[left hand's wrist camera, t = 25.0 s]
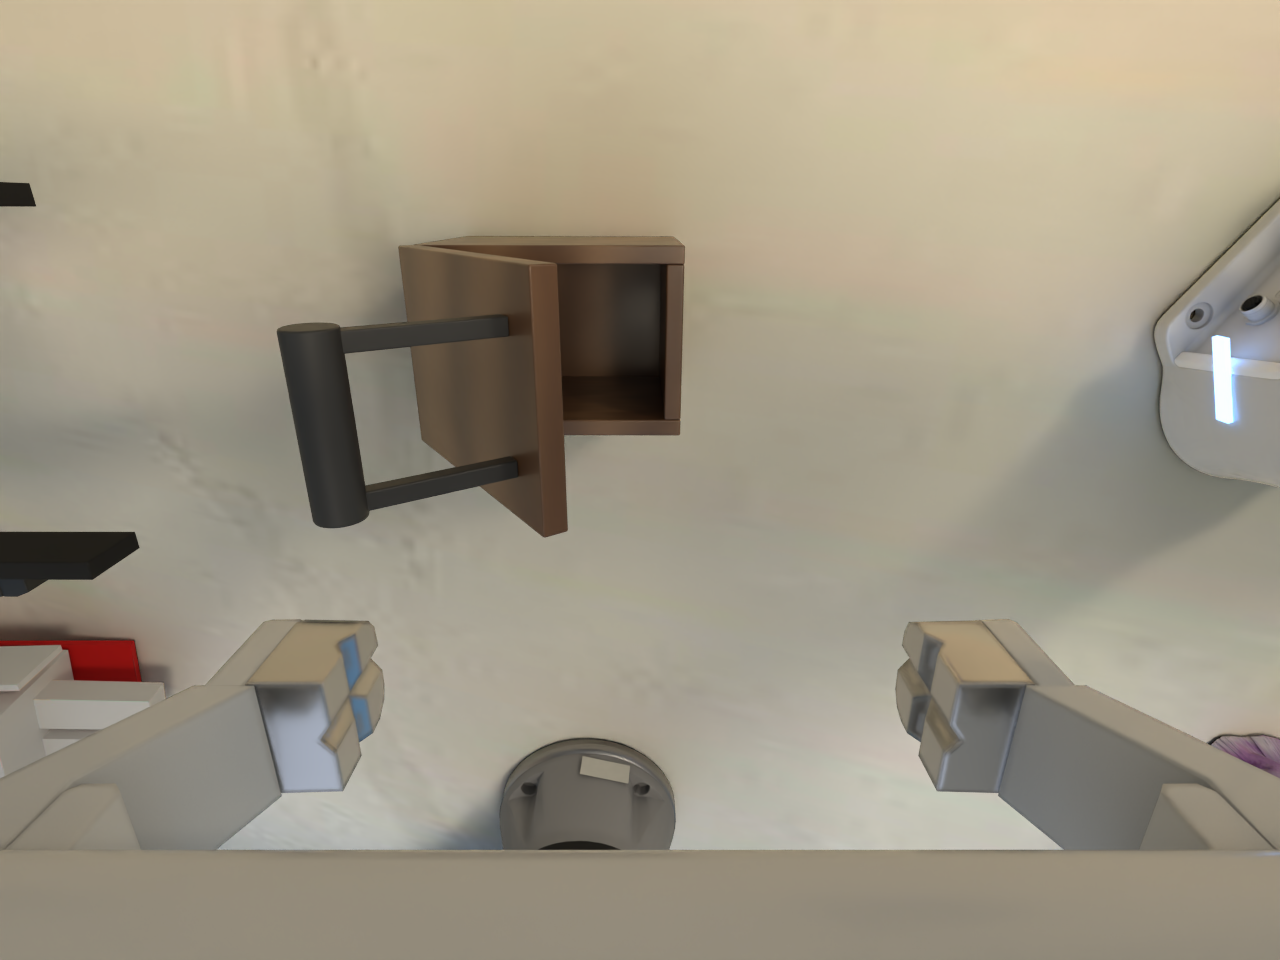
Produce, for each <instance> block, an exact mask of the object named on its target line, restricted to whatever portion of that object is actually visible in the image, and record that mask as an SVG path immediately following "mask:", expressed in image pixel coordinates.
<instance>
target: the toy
mask: <svg viewBox="0 0 1280 960" xmlns="http://www.w3.org/2000/svg"><path fill="white" fill-rule="evenodd" d="M165 699H166V697H165V690H164V683H162V682H142V681H141V676H140V670H139V665H138V659H137V654H136V648H135V643H134V640H132V641H0V778H2V777H4V776H6V775H8V774H10V773H12V772H14V771H16V770H18V769H20V768H23V767H25V766H27V765H29V764H31V763H33V762H35V761H37V760H39V759H41V758H43V757H46V756H48V755H50V754H52V753H54V752H56V751H58V750H60V749H62V748H64V747H66V746H69V745H71V744H73V743H75V742H77V741H79V740H81V739H83V738H85V737H87V736H89V735H92V734H94V733H96V732H98V731H100V730H102V729H104V728H106V727H108V726H110V725H112V724H115V723H117V722H119V721H121V720H123V719H125V718H127V717H129V716H131V715H133V714H135V713H138V712H140V711H142V710H144V709H146V708H148V707H150V706H152V705H154V704H156V703H158V702H161V701H163V700H165Z"/></svg>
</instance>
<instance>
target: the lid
mask: <svg viewBox="0 0 1280 960" xmlns="http://www.w3.org/2000/svg"><path fill="white" fill-rule="evenodd" d="M398 248H399V256H400V264H401V273H402V281H403V289H404V297H405V305H406V314H407V322H402V323H390V324H378V325H366V326H355V327H343V328H340V326H339V325H337V324H333V323H302V324H293V325H287V326H283V327H281V328H278V329H277V336H278V341H279V346H280V351H281V357H282V362H283V367H284V372H285V377H286V383H287V388H288V393H289V398H290V403H291V409H292V414H293V419H294V424H295V429H296V435H297V440H298V445H299V450H300V455H301V461H302V466H303V471H304V476H305V481H306V487H307V492H308V497H309V502H310V507H311V513H312V518H313V522H314V523H315V524H316V525H317V526H319V527H323V528H341V527H347V526H351V525H354V524H357V523H359V522H361V521H363V520H365V519H366V518H367V517H368V515H369V511H370V510H375V509H379V508H384V507H388V506H392V505H397V504H401V503H406V502H410V501H415V500H419V499H424V498H428V497H432V496H437V495H441V494H446V493H450V492H455V491H459V490H464V489H468V488H473V487H477V486H480V487H481V488H483V489H484V490H485V491H486V492H488V493H489V494H490V495H491V496H493V497H494V498H495V499H496V500H497V501H499V502H500V503H501V504H502V505H504V506H505V507H506V508H507V509H509V510H510V511H511V512H512V513H514V514H515V515H516V516H517V517H519V518H520V519H521V520H522V521H524V522H525V523H526V524H527V525H529V526H530V527H531V528H532V529H534V530H535V531H536V532H537V533H539V534H540V535H541V536H542V537H549V536H552V535H556V534H559V533H563V532H566V531H567V530H568V525H567V500H566V476H565V451H564V426H563V402H562V377H561V352H560V328H559V303H558V278H557V264H556V263H550V262H543V261H535V260H527V259H520V258H512V257H505V256H497V255H490V254H482V253H474V252H467V251H459V250H452V249H444V248H437V247H429V246H421V245H404V246H399V247H398ZM403 347H411V355H412V363H413V371H414V380H415V388H416V396H417V404H418V413H419V421H420V429H421V437H422V440H423V441H424V442H425V443H426V444H428V445H429V446H430V447H431V448H433V449H434V450H435V451H436V452H438V453H439V454H440V455H441V456H443V457H444V458H445V459H446V460H448V461H449V462H450V463H451V464H453V465H454V466H455V467H454V468H450V469H445V470H440V471H435V472H430V473H425V474H420V475H415V476H411V477H406V478H401V479H396V480H391V481H386V482H381V483H377V484H372V485H367V486H365V481H364V475H363V468H362V462H361V456H360V449H359V443H358V437H357V430H356V424H355V418H354V411H353V405H352V399H351V392H350V386H349V380H348V373H347V367H346V361H345V354H346V353H355V352H365V351H374V350H384V349H393V348H403Z"/></svg>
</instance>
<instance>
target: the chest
mask: <svg viewBox="0 0 1280 960" xmlns="http://www.w3.org/2000/svg"><path fill="white" fill-rule="evenodd" d="M415 245H421V246H429V247H437V248H444V249H452V250H459V251H467V252H474V253H482V254H490V255H497V256H505V257H512V258H520V259H527V260H535V261H543V262H550V263H556V264H557V278H558V303H559V328H560V352H561V377H562V402H563V426H564V435H680V414H681V374H682V335H683V295H684V265H683V264H684V258H685V246H684V245H683V244H682V243H680V242H679V241H678V240H677V239H676V238H674V237H594V236H465V237H459V238H453V239H447V240H440V241H434V242H428V243H421V244H415Z"/></svg>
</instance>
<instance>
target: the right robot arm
mask: <svg viewBox="0 0 1280 960" xmlns="http://www.w3.org/2000/svg"><path fill="white" fill-rule="evenodd" d="M0 206H36V204H35V201H34V197H33V194H32V191H31V188H30V184H29V183H8V182H0ZM138 548H139V545H138V541H137V538H136V535H135V532H0V596H20V595H22V594H25V593H27V592H29V591H31V590H32V589H34V588H36V587H37V586H39V585H40V584H42V583H44V582H45V581H47V580H48V579H57V580H93V579H94V578H96V577H97V576H99V575H100V574H101V573H103V572H104V571H106V570H107V569H109V568H110V567H112V566H113V565H115V564H116V563H118V562H119V561H121V560H122V559H124V558H125V557H127V556H128V555H130V554H131V553H133V552H134V551H135V550H137V549H138ZM675 822H676V821H675V801H674V795H673V791H672V788H671V786H670V784H669V781H668V780H667V778H666V776H665V775H664V774H663V772H662V771H661V770H660V769H659V768H658V767H657V766H656V765H655V764H654V763H653V762H652V761H651V760H650V759H648V758H647V757H645V756H644V755H642V754H641V753H639V752H637V751H635V750H633V749H631V748H629V747H626V746H623V745H621V744H617V743H613V742H609V741H604V740H595V739H578V740H569V741H564V742H559V743H556V744H552V745H550V746H547V747H544V748H542V749H540V750H538V751H536V752H535V753H533V754H531V755H530V756H529V757H527V758H526V759H525V760H523V761H522V762H521V763H520V764H519V765H518V766H517V767H516V769H515V770H514V771H513V773H512V774H511V776H510V777H509V779H508V781H507V784H506V786H505V790H504V794H503V798H502V803H501V807H500V830H501V837H502V844H503V850H669V848H670V845H671V842H672V839H673V834H674V830H675Z"/></svg>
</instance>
